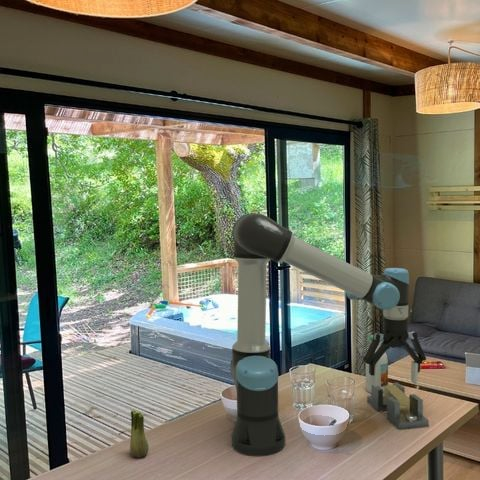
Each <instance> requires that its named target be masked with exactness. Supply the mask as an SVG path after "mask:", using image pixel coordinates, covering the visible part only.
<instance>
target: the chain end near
mask: <svg viewBox="0 0 480 480" xmlns="http://www.w3.org/2000/svg"><path fill="white" fill-rule="evenodd" d="M408 397H409V398H410V414H407V415H399V402H398V401H397V400H396V399H395V398H393V397H392V396H389V397H387V410H386V413H385V416H386V418H385V419H386V420H387V421H388V422H389V423H390V424H392V425H393V426H394V427H396V429H397V430H399V431H400V430H407V429H408V430H409V429H418V428H419V429H420V428H425V427H427V428H428V427H429V426H430V425H429V423H430V421H429V419H428V418H427V417H425V416H424V412H423V411H424V409H423V408H424V406H423V405H424V403H423V402H424V400H423V399H422V398H421V397H419V396H418V395H416V394H415V393H412V394H411V393H410V394H409V395H408Z"/></svg>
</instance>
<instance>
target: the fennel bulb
mask: <svg viewBox="0 0 480 480" xmlns="http://www.w3.org/2000/svg"><path fill="white" fill-rule="evenodd" d="M130 417H131V419H130V421H131V422H130V424H131V428H130V443H129V444H130V445H129V449H130V450H129V451H130V454H131V456H132V457H133V458H142V457H145V455H147V453H148V452H149V442H148V440H147V438H146V434H145V426H144V425H145V424H144V422H145V421H144V420H145V419H144V415H143V414H142V412H141V411H136V410H135V409H132V410H130Z"/></svg>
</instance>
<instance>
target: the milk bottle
mask: <svg viewBox="0 0 480 480" xmlns="http://www.w3.org/2000/svg"><path fill="white" fill-rule="evenodd" d="M372 340H373V334H370V336H369V342H370V343H371V342H372ZM383 341H384V339H383V338H382V339H381V341H380V342H379V345H378V347H377V349H376V351H377V350H378V348H379V347H380V346H381V343H382V342H383ZM376 351H375V352H376ZM375 365H377V366H378V374H377V386H379V387H380V388H381V389H383V392H384V386H386V385H389V361H388V355H387V351H386V352H385V353H384V354H383V355H382V357H381V358H380V359H379V360H378V362H377V363H376V364H375ZM371 385H372V384H371V375H370V374H369V364H367V363H365V391H366V392H368V393H370V394H371Z"/></svg>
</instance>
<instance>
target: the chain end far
mask: <svg viewBox="0 0 480 480" xmlns="http://www.w3.org/2000/svg"><path fill="white" fill-rule="evenodd" d="M392 385H396V386H397V387H398V388H399V389H400V390H401V391H402V392H403V393H404V394H405V395H406V393H405V387H404V385H402V384H400V383H399V382H393V383H392ZM370 394H371V395H368V396H367V397H366V398H367V399H366V400H367V401H366V403H368V404H369V406H371V407H372V408H373V409H375V410H376V411H377V412H383V411H385V412H387V403H386V402H385V401H384V392H383V389H381V388H380V387H379V386H377V387H375V386H374V385H371V393H370Z"/></svg>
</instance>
